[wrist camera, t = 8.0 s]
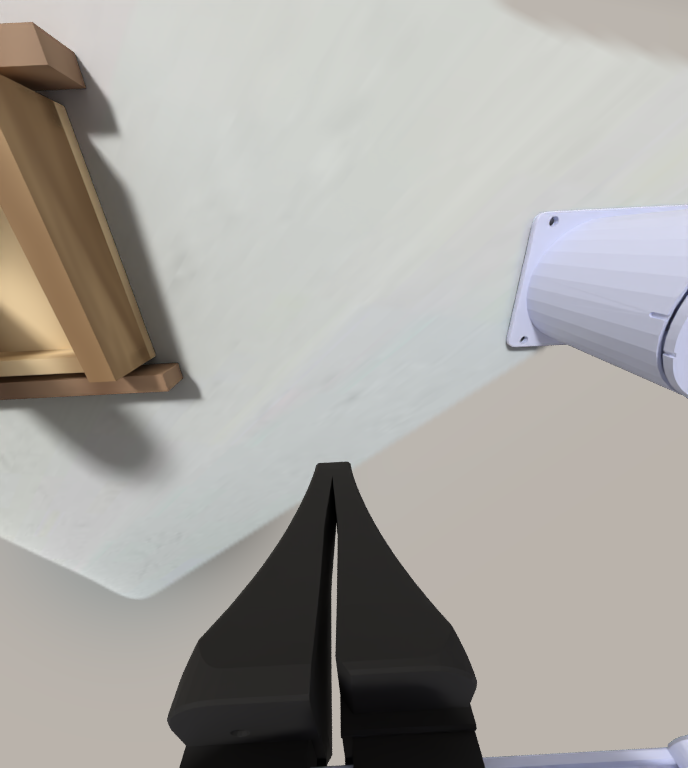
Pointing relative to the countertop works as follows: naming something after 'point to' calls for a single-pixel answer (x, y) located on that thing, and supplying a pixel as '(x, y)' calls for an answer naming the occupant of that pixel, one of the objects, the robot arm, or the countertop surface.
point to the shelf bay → (55, 72)
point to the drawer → (58, 254)
